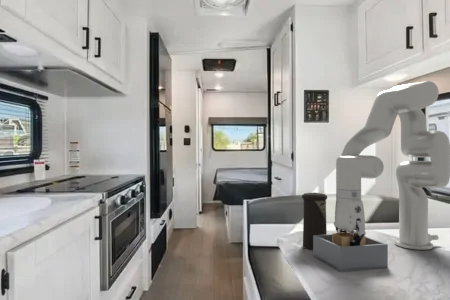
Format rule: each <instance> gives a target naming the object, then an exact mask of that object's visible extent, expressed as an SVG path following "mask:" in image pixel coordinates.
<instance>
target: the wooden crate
mask: <svg viewBox="0 0 450 300" xmlns="http://www.w3.org/2000/svg"><path fill="white" fill-rule="evenodd" d="M331 234H332V243H334V244H336V245H338V246H341V247H347V246H350V242H352V241H351V236H350V232H341V233H337V232H332V233H331ZM355 236H356V234H354V237H355ZM366 237H367V236H366V234H365V235H364V236H363V238H362V239H361V242H360V245H366Z"/></svg>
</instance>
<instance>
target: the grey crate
mask: <svg viewBox="0 0 450 300" xmlns="http://www.w3.org/2000/svg"><path fill="white" fill-rule="evenodd" d="M388 245H389V244H387V243H385V242H382V241H379V240H376V239H375V238H371V237H369V236H366V245H360V246H347V247H341V246H338V245H336V244H334V243H332V233H329V234H326V235H313V250H312V252H313V253H312V254H313V255H312V256H313V257H314V258H316V259H317V260H319V261H321V262H323V263H324V264H326V265H328V266H329V267H332V268H333V269H334V270H336V271H338V272H340V273H346V272H355V271H356V272H357V271H366V270H377V269H387V268H389V265H388V263H389V262H388V258H389V255H388V254H389V252H388V248H389V247H388Z"/></svg>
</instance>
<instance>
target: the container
mask: <svg viewBox="0 0 450 300" xmlns="http://www.w3.org/2000/svg"><path fill="white" fill-rule="evenodd" d="M301 197H302V199H303V221H302V222H303V223H302V226H303V227H302V230H303V231H302V247H303V248H304V249H306V250H311V251H313V235H326V234H327V231H328V230H327V200H328V195H326V194H325V193H322V192H321V193H320V192H305V193H303V194H302V195H301Z"/></svg>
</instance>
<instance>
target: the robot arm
mask: <svg viewBox="0 0 450 300" xmlns="http://www.w3.org/2000/svg"><path fill="white" fill-rule="evenodd" d="M438 97H439V88H438V85H437V84H436V83H435V82H433V81H431V80H424V81H418V82H413V83H406V84H401V85H397V86H396V85H395V86H393V87H392V88H390V89H387V90H383V91H380V92H379V93H378V94H377V95H376V97H375V99H374V102H373V103H372V107H371V109H370V112H369V114H368V117H367V119H366V123H365V125H364V126H363V127H362V128H361V129H360V130H359V131H357V132H356V133H355V134H354V135H353V136H352V137H351V138H350V139H349V140H348V141H347V142H346V144H345V145H344V148H343V150H342V152H341V155H340V156H338V157H337V158H336V160H335V182H336V184H335V185H336V186H335V187H336V188H335V196H336V197H335V199H336V200H335V207H334V209H335V211H334V221H333V225H334V228H335V231H336V233H341V232H350V236H351V241H352V242H350V246H360V242H361V239H362V238H363V236H364V235H365V236H366V234H367V233H366V216H365V208H364V202H363V200H362V179H368V180H369V179H373V180H374V179H376V178H379V177H380V176H381V175H382V174H383V172H384V163H383V160H381V158H379V157H377V156H375V155H367V154H365V155H363V154H361V153H362V152H363V151H364V150H365V149H367V148H368V147H369V146H373V145H374V144H376V143H379V142H380V141H382V140H385V139H386V138H388V137H389V136H390V135H391V134H392V131H393V127H394V124H395V122H396V119H397V117H399V120H400V151H401V153H402V155H404V156H405V157H409V158H411V157H412V158H430V160H429V161H427V160H407V161H406V160H405V161H402V162H400V163H399V164H398V165H397V167H396V170H395V175H396V180H397V181H396V182H397V186H398V207H399V210H398V215H399V216H398V217H399V218H398V227H399V228H398V229H399V230H398V234H399V236H398V237H399V238H397V239H395V240H394V245H396V246H398V247H401V248H403V249H410V250H415V251H416V250H417V251H427V250H432V249H433V248H434V244H433V243H432V241H437V240H439V236H438V234H430V233H429V197H428V196H427V193H426V192H425V191H424V190H425V189H423V188H427V189H429V188H430V189H442V188H443V189H444V188H446V187H447V186H448V184H449V182H450V139H449V137H448V135H447V133H446V132H443V131H442V130H441V131H440V130H427V117H426V115H425V113H424V112H423V110H422V109H426V108H427V107H430V106H432V105H433V104H435V102H436V101H437V100H438ZM360 154H361V155H360ZM354 234H356V236H355V237H354Z"/></svg>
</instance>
